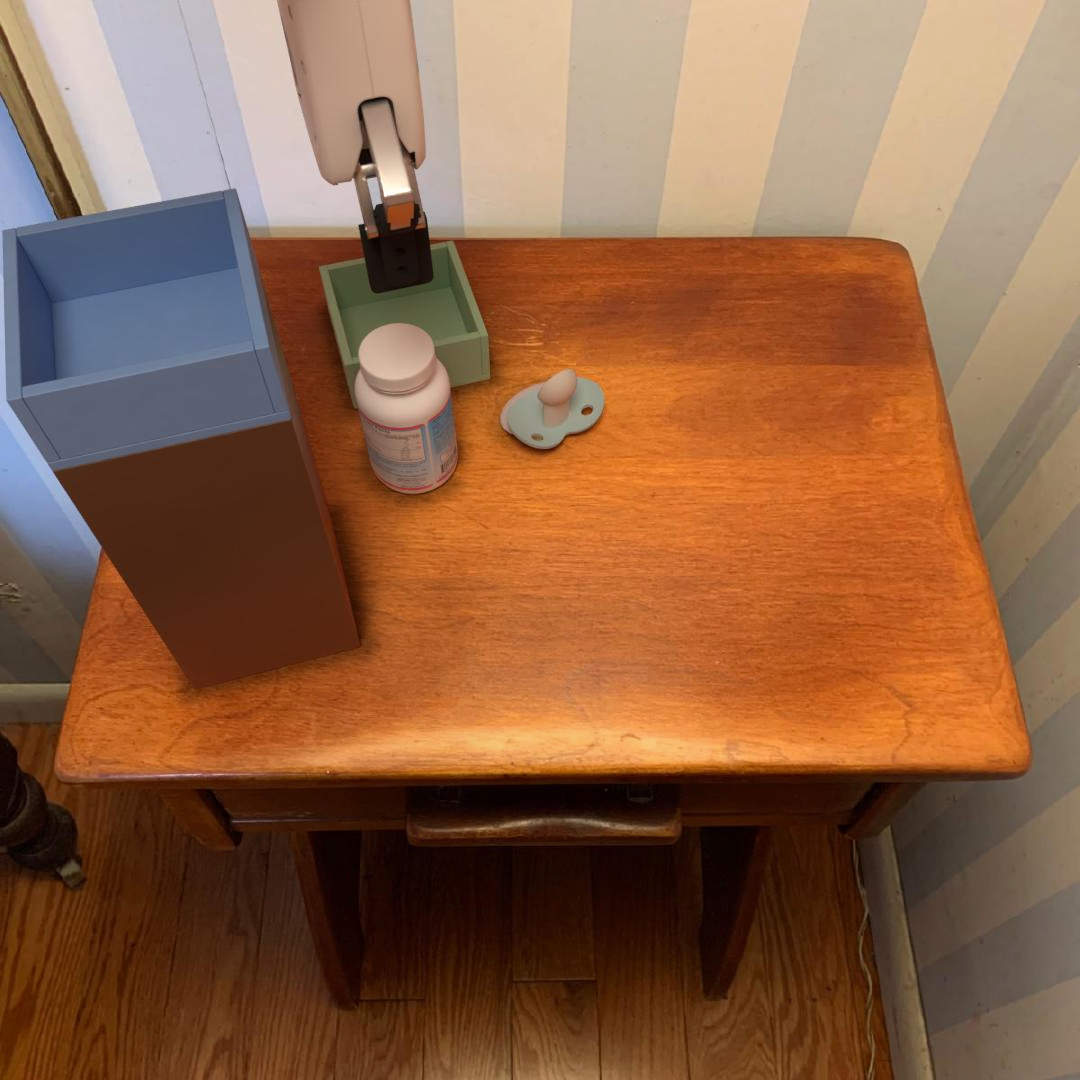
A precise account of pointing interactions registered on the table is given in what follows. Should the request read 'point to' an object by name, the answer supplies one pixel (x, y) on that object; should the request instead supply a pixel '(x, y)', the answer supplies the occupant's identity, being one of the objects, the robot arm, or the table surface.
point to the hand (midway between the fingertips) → (382, 221)
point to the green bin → (410, 315)
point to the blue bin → (178, 428)
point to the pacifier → (552, 409)
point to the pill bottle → (406, 409)
